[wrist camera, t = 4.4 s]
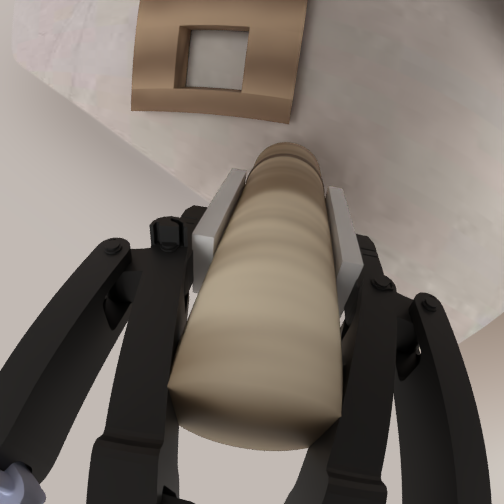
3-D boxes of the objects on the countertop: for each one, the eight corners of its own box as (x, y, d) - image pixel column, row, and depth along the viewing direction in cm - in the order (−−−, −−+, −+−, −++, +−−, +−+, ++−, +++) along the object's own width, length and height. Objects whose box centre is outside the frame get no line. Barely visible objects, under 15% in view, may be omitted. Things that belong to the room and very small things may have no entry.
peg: (257, 136, 18) (139, 355, 5) (327, 149, 17) (381, 396, 5) (249, 198, 20) (168, 431, 7) (313, 210, 20) (313, 456, 7)
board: (161, -36, 16) (148, -45, 13) (312, -35, 15) (313, -47, 13) (145, 106, 25) (131, 110, 23) (289, 119, 24) (288, 124, 22)
